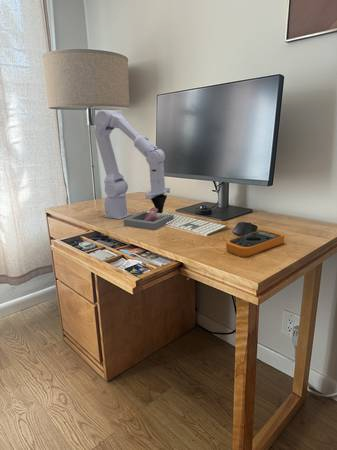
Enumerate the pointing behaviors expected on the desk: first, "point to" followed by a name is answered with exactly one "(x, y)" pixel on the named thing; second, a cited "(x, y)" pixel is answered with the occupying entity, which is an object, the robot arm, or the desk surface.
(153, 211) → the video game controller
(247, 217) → the desk surface
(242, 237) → the multimeter
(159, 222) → the tray
